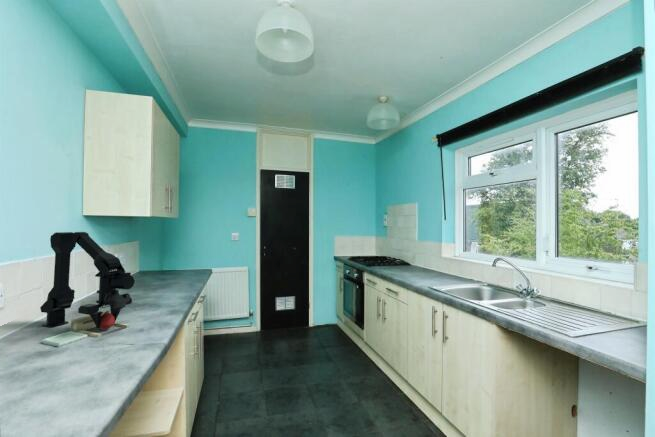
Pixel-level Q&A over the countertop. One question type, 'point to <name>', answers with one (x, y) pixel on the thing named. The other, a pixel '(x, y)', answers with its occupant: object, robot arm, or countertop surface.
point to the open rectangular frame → (91, 326)
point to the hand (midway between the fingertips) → (106, 325)
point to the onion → (107, 320)
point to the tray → (64, 338)
